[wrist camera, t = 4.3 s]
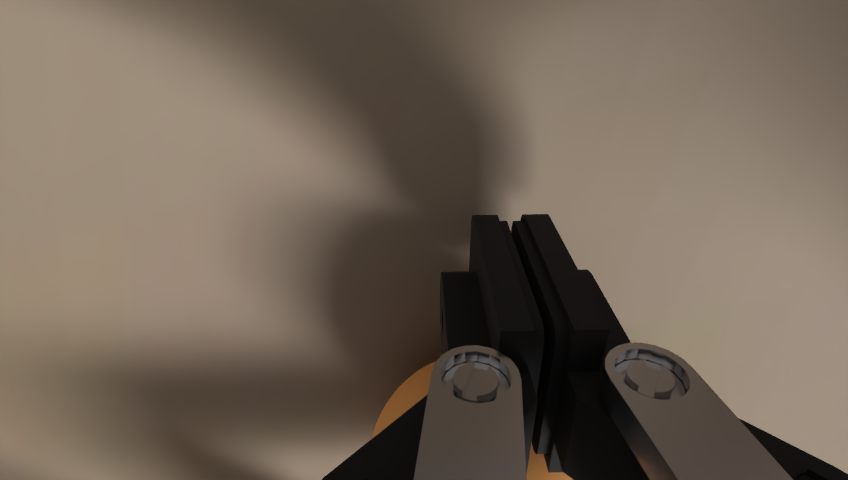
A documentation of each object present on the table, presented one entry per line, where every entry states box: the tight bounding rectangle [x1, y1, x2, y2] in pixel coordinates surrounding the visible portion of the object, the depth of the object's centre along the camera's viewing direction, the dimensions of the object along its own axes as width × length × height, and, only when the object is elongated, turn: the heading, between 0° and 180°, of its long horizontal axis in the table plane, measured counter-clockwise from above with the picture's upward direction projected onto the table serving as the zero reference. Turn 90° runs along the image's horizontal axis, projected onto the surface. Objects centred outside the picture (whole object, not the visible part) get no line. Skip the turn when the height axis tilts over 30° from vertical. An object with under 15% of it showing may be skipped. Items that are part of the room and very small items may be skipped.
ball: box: [371, 361, 573, 480], centre depth 12 cm, size 6×6×6 cm
